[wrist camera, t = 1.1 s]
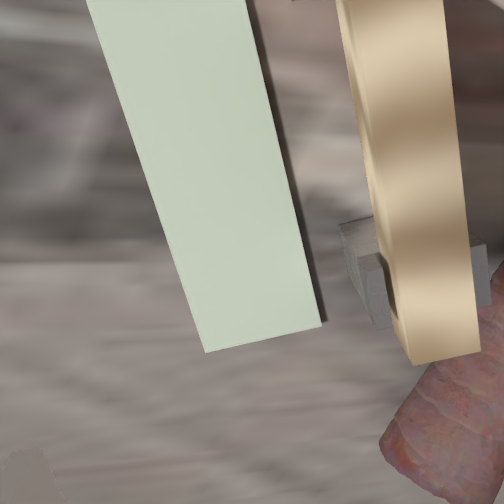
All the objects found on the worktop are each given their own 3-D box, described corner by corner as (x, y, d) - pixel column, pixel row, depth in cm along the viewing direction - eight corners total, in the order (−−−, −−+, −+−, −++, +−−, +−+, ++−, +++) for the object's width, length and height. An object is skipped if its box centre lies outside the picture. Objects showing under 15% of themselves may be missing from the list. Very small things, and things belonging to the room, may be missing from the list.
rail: (305, -165, 23) (316, -213, 19) (388, -192, 23) (416, -245, 19) (394, 332, 32) (413, 366, 29) (453, 319, 32) (480, 351, 28)
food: (460, 448, 45) (507, 533, 36) (366, 423, 44) (393, 505, 35) (581, 245, 38) (674, 293, 29) (473, 210, 37) (537, 249, 28)
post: (337, 225, 37) (365, 272, 28) (428, 203, 36) (486, 243, 27) (347, 271, 38) (376, 330, 29) (434, 250, 38) (491, 304, 29)
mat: (61, -79, 30) (57, -82, 29) (214, -128, 29) (213, -131, 29) (206, 348, 41) (205, 352, 40) (320, 322, 40) (321, 326, 39)
